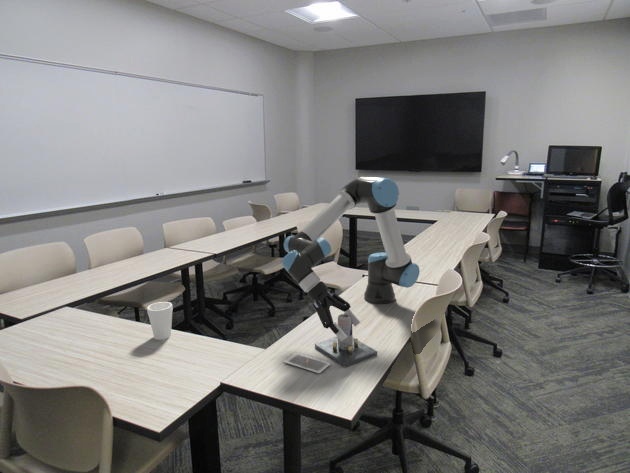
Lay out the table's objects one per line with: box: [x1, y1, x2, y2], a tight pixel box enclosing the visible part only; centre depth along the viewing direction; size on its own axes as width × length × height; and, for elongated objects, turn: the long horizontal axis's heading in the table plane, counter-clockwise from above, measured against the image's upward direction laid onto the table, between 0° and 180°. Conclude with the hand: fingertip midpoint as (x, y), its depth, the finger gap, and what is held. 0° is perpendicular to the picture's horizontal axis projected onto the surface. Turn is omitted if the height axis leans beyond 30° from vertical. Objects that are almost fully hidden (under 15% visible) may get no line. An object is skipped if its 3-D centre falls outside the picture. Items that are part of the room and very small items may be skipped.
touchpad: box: [283, 352, 332, 374], centre depth 145 cm, size 8×15×2 cm, turn 58°
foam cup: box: [146, 301, 174, 341], centre depth 167 cm, size 10×9×13 cm
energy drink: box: [337, 313, 353, 350], centre depth 153 cm, size 5×5×12 cm
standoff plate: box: [314, 336, 378, 368], centre depth 154 cm, size 15×18×4 cm
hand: (351, 331), depth 151 cm, fingers open, 13 cm apart
